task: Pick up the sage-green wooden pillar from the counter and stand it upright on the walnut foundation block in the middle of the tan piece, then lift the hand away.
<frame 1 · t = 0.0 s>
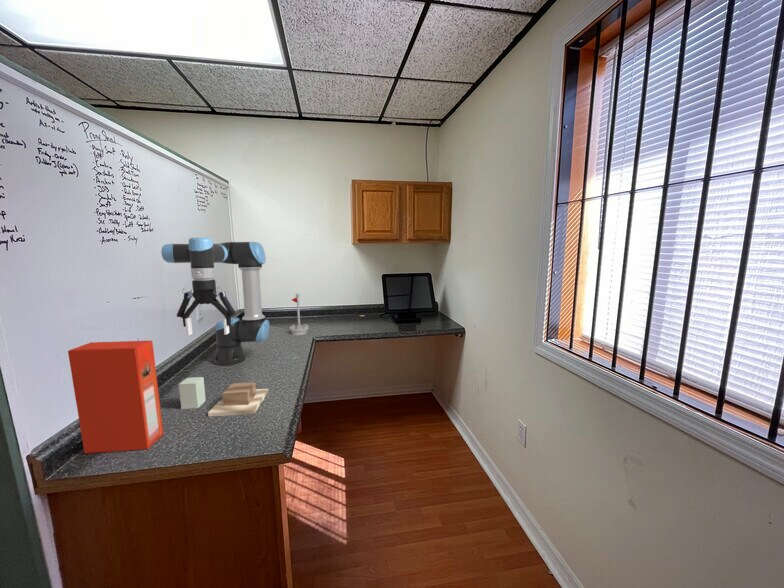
hand: (208, 334, 117), 28 cm above the counter, tool pointing down, fingers open, 13 cm apart
tan piece: (240, 403, 120), on the counter
flag stand: (299, 333, 225), on the counter
sage pillar: (193, 404, 120), on the counter
file binder: (125, 444, 95), on the counter
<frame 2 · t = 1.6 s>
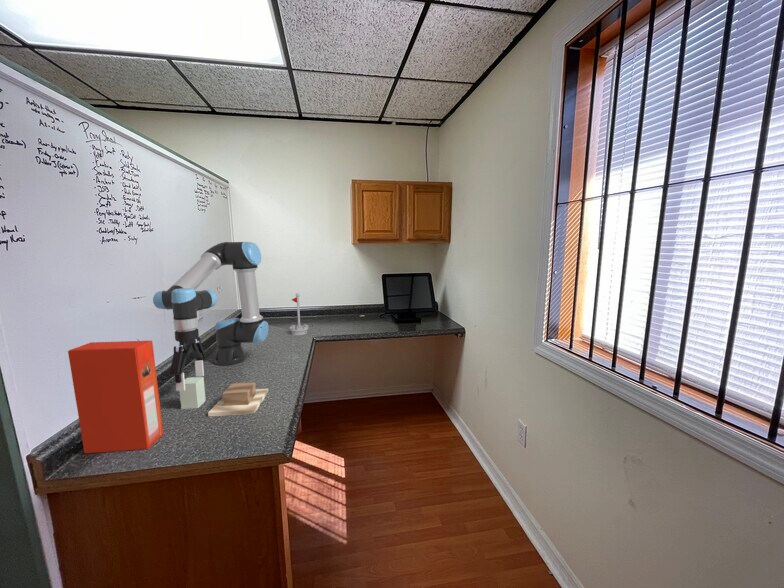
hand: (191, 382, 118), 9 cm above the counter, tool pointing down, fingers open, 13 cm apart
nothing on the counter moved.
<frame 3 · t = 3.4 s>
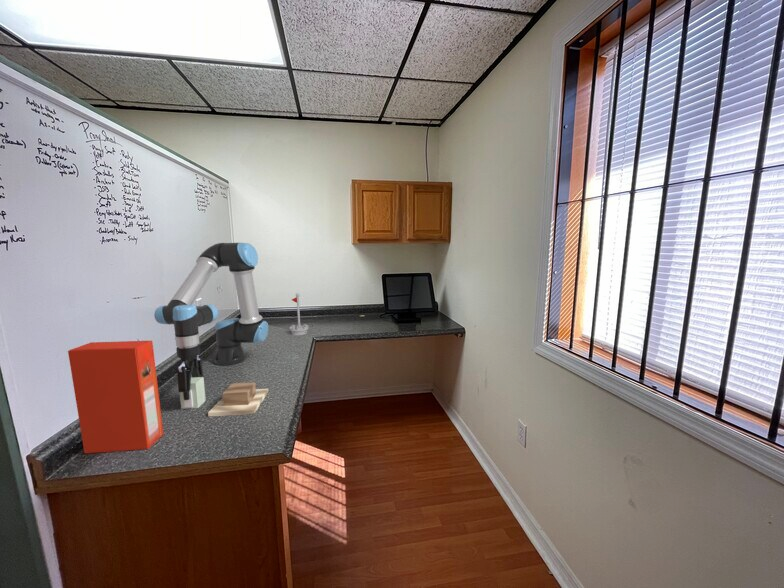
hand: (193, 402, 119), 1 cm above the counter, tool pointing down, fingers closed on sage pillar, 6 cm apart
sage pillar: (193, 404, 120), on the counter, touching gripper
everything else where it was.
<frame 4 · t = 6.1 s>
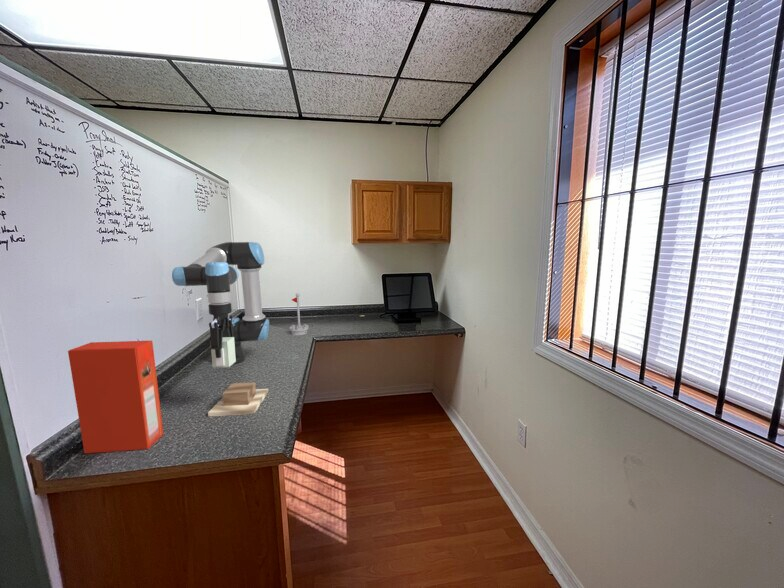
hand: (224, 362, 118), 17 cm above the counter, tool pointing down, fingers closed on sage pillar, 6 cm apart
sage pillar: (224, 364, 118), point 16 cm above the counter, touching gripper
everything else where it was.
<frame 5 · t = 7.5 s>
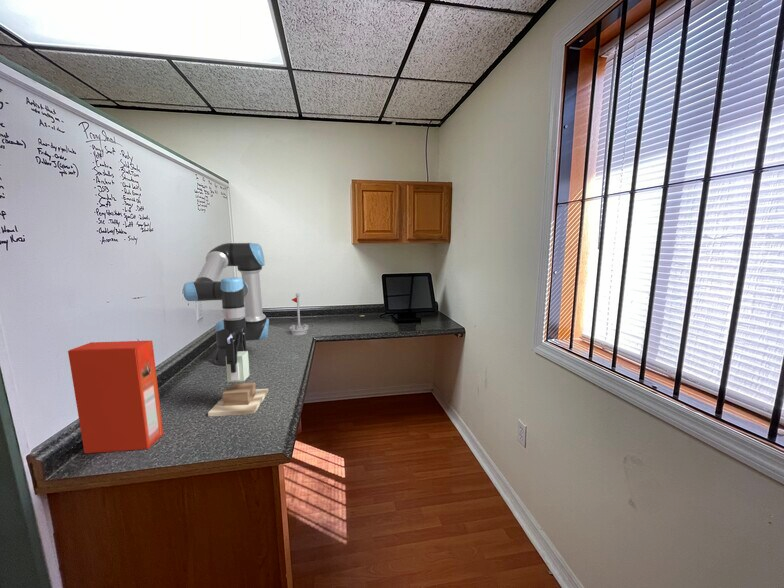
hand: (238, 376, 119), 11 cm above the counter, tool pointing down, fingers closed on sage pillar, 6 cm apart
sage pillar: (238, 378, 119), point 10 cm above the counter, touching gripper
everything else where it was.
when the fingers open (9 cm above the counter, at t = 8.7 s): sage pillar drops 1 cm, resting on tan piece.
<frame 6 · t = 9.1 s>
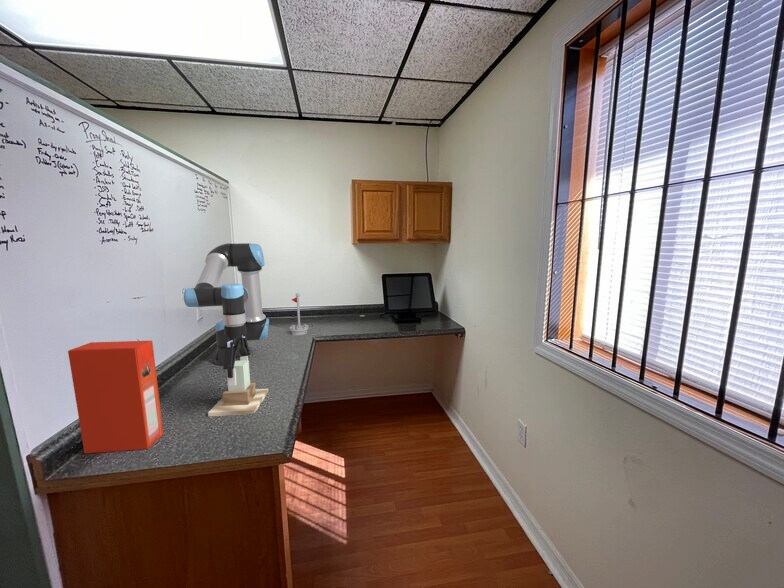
hand: (238, 378, 119), 10 cm above the counter, tool pointing down, fingers open, 12 cm apart
sage pillar: (239, 387, 120), point 6 cm above the counter, touching tan piece
everything else where it was.
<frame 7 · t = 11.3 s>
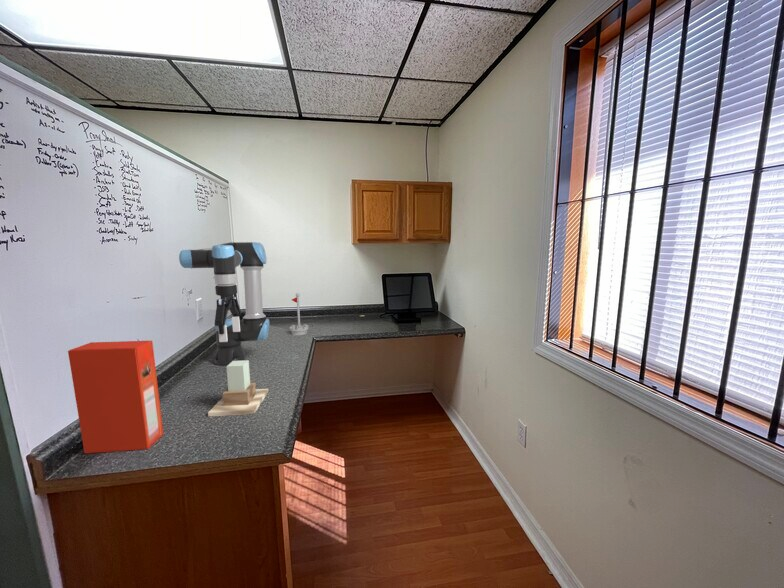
hand: (230, 336, 124), 25 cm above the counter, tool pointing down, fingers open, 13 cm apart
nothing on the counter moved.
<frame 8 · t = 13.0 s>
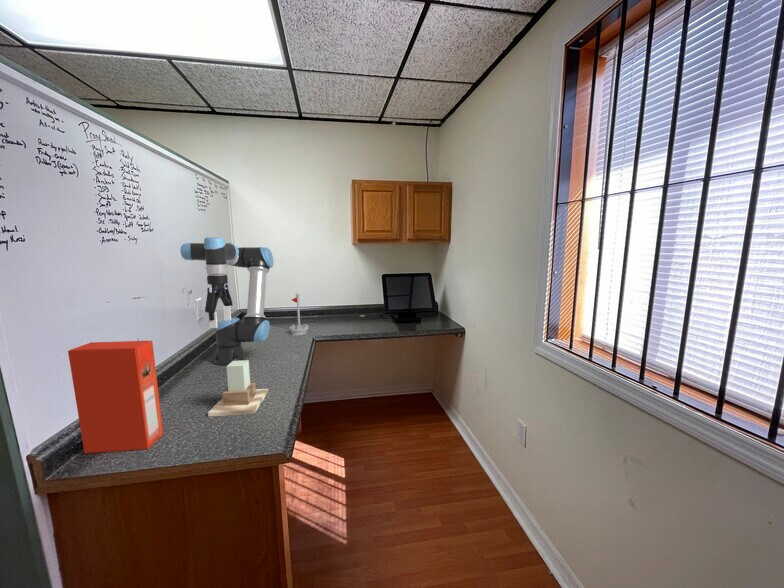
hand: (221, 324, 131), 29 cm above the counter, tool pointing down, fingers open, 13 cm apart
nothing on the counter moved.
at the end: sage pillar 0.1 cm off-centre on the tan piece, point 6.5 cm above the tan piece's base; sage pillar tilted 0°; the gripper is holding nothing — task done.
